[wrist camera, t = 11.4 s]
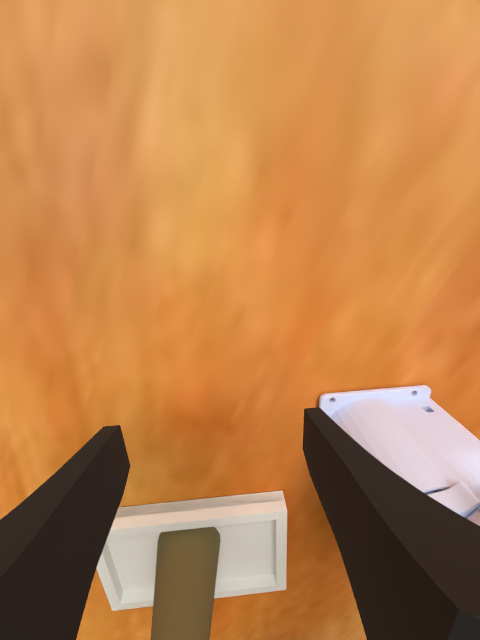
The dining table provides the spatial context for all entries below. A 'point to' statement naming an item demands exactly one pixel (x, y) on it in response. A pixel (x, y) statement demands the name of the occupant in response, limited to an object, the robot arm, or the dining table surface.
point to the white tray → (220, 512)
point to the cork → (185, 584)
